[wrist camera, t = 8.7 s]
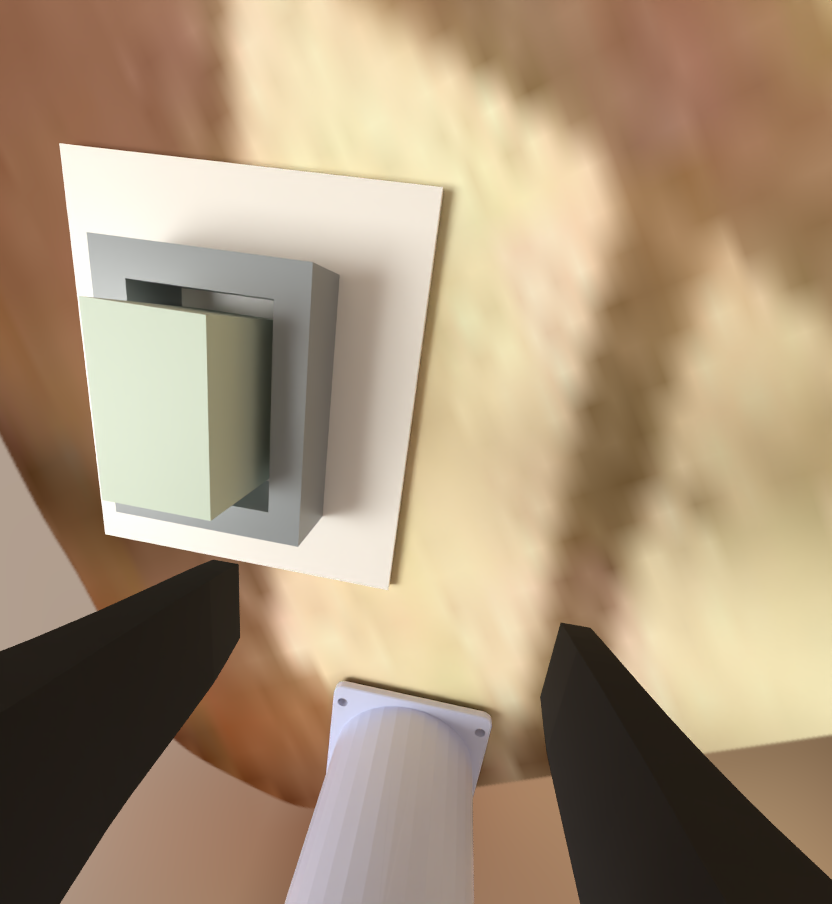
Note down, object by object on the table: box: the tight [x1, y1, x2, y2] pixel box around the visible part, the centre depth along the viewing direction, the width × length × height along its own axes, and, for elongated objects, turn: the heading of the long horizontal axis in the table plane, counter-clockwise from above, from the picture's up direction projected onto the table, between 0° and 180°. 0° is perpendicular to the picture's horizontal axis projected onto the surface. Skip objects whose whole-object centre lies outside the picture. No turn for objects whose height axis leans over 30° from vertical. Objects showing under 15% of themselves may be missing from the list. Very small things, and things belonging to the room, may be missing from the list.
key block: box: [79, 296, 273, 521], centre depth 14 cm, size 4×6×5 cm, turn 172°
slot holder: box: [59, 143, 444, 590], centre depth 15 cm, size 16×14×3 cm
